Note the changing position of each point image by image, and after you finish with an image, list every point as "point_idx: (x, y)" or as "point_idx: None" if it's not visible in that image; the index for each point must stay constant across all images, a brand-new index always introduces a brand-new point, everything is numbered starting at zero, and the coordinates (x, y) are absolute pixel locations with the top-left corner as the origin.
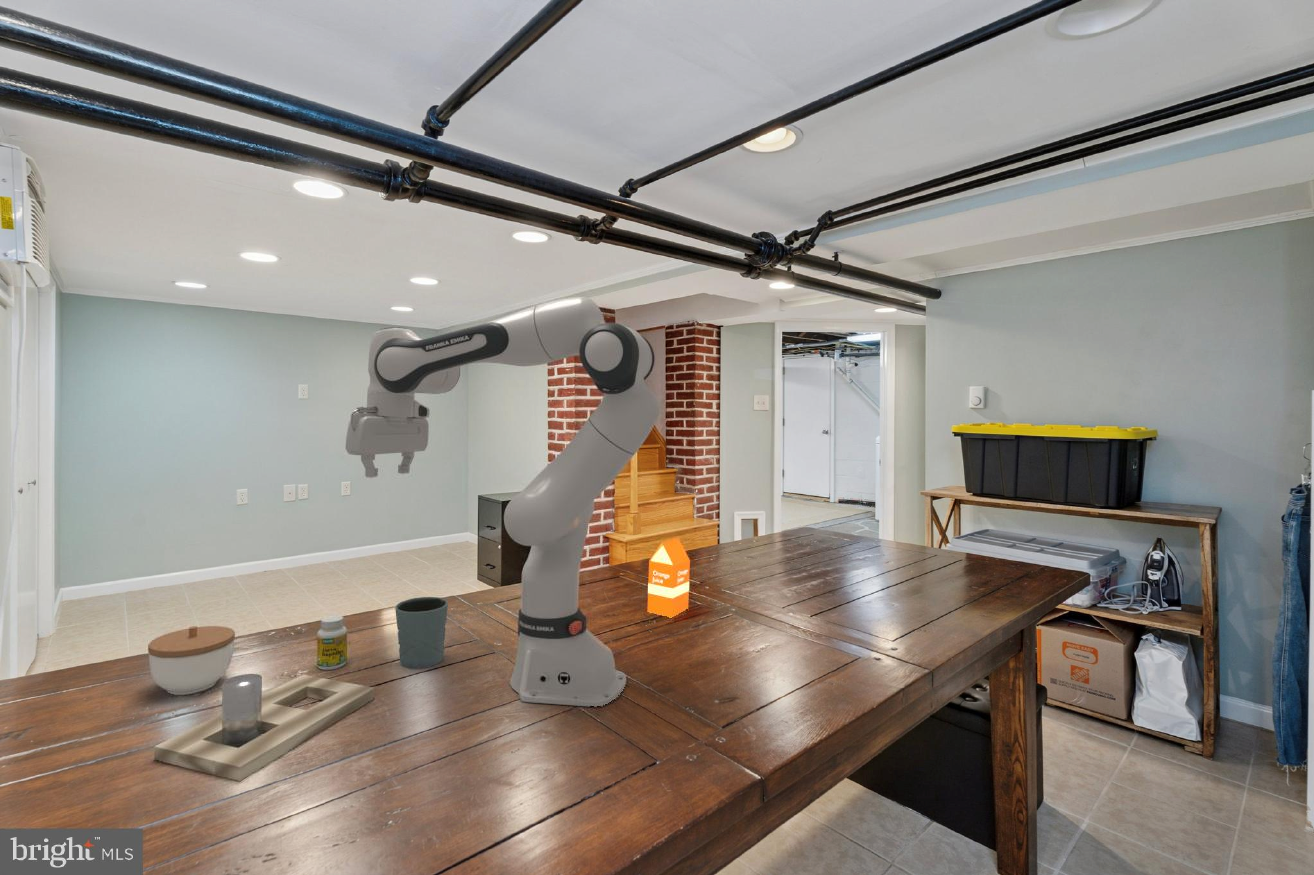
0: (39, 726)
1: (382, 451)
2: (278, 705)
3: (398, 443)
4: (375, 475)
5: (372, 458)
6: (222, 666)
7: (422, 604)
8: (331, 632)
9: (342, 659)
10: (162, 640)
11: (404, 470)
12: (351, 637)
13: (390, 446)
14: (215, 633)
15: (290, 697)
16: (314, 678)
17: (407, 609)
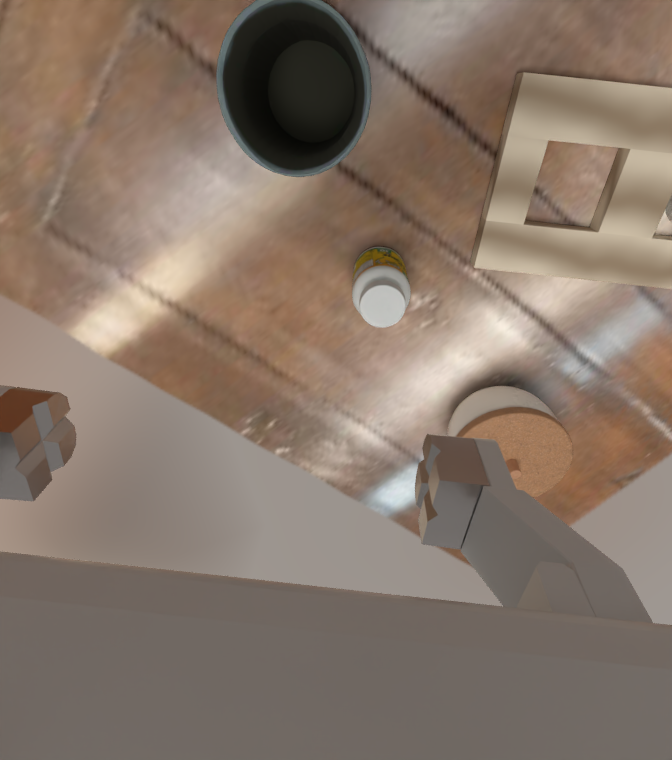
0: (610, 476)
1: (505, 631)
2: (606, 216)
3: (15, 738)
4: (459, 439)
5: (583, 585)
6: (503, 389)
7: (244, 129)
8: (402, 284)
9: (384, 249)
10: (532, 487)
11: (43, 409)
12: (251, 322)
13: (296, 699)
14: None
15: (558, 227)
16: (489, 234)
17: (282, 158)
